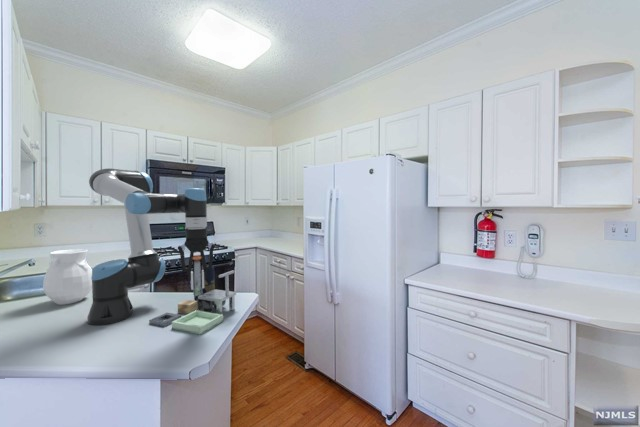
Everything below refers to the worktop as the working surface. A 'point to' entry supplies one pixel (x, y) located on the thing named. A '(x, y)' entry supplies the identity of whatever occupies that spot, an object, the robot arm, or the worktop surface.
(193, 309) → the block
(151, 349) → the worktop surface
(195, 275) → the pin
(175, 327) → the tray
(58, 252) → the white vase
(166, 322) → the collar
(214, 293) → the trolley
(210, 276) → the canister
